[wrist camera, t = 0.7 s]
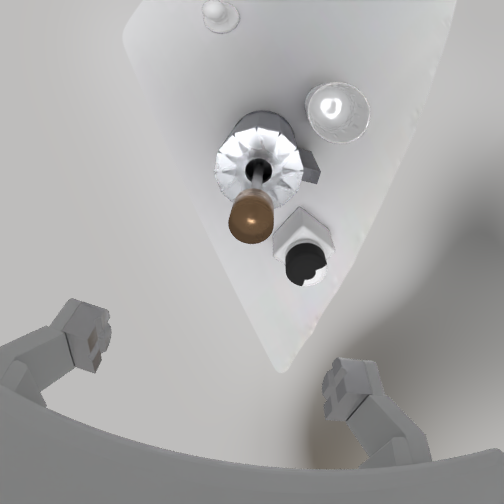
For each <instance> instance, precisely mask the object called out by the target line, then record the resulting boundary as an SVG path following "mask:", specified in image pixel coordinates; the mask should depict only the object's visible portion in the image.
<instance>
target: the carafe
mask: <svg viewBox="0 0 504 504" xmlns="http://www.w3.org/2000/svg"><path fill="white" fill-rule="evenodd" d="M256 158H261V159H265V160H266V161H267V162H269V163H270V164H271V167H272V173H271V175H270V176H269V177H268V178H267V179H266V180H263V181H262V191H264V192H266V193H267V194H268V195H269V196H270V197H271V199H272V201H273V205H274V208H278V207H281V206H280V204H281V205H284V204H285V203H286V202H287V201H288V200H289V199H290V198H292V197H293V196H294V195H295V194H296V193H297V191H296V190H298V189H299V186H300V182H301V180H302V181H306V182H310V183H314V184H317V182H318V179H319V176H320V173H321V171H320V169H319V167H318V165H317V163H316V161H315V158H314V156H313V154H312V152H311V151H308V150H304V149H300V148H297V145H296V142H295V137H294V133H293V130H292V128H291V126H290V125H289V123H288V122H287V121H286V120H285V119H284V118H283V117H282V116H280V115H278V114H276V113H274V112H271V111H255V112H252V113H249V114H247V115H246V116H244V117H243V118H242V119H241V120H240V121H239V122H238V123H237V124H236V126H235V128H234V129H233V130H232V132H231V133H230V135H229V136H228V137H227V139H226V140H225V142H224V143H223V145H222V146H221V148H220V149H219V151H218V154H217V159H216V164H215V170H214V172H215V177H216V180H217V182H218V185H219V187H220V190H221V192H223V191H224V192H223V195H224V196H226V197H227V198H228V199H229V200H230V201H232V202H233V203H234V200H235V198H236V196H237V195H238V194H239V193H240V192H242V191H244V190H246V189H251V183H252V179H251V178H250V177H249V176H248V175H247V172H246V170H245V168H246V164H247V163H248V162H249V161H250V160H252V159H256Z"/></svg>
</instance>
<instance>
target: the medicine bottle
mask: <svg viewBox="0 0 504 504" xmlns="http://www.w3.org/2000/svg"><path fill="white" fill-rule="evenodd" d="M333 253H335V247H334V244H333V241H332V237H331V234H330V231H329V229H327V228H326V227H325V226H324V225H322V224H321V223H320V222H319V221H317V220H316V219H315V218H314V217H312V216H311V215H310V214H309V213H307V212H306V211H305V210H303V209H302V208H301V207H299V208H297V210H296V211H295V212H294V213H293V214H292V215H291V216H290V217H289V218H288V219H287V220H286V221H285V223H284V224H283V225H282V226H281V227H280V228H279V229H278V230H277V231H276V232H275V233H274V235H273V257H274V258H275V259H277V260H278V261H280V262H281V263H283V264H284V265H286V275H287V277H288V279H289V280H290V281H291V282H293V283H294V284H296V285H299V286H312V285H315V284H317V283H319V282H320V281H321V280H322V279H323V278H324V277H325V275H326V273H327V262H326V260H327V259H328V258H329V257H330V256H331V255H332V254H333Z"/></svg>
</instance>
